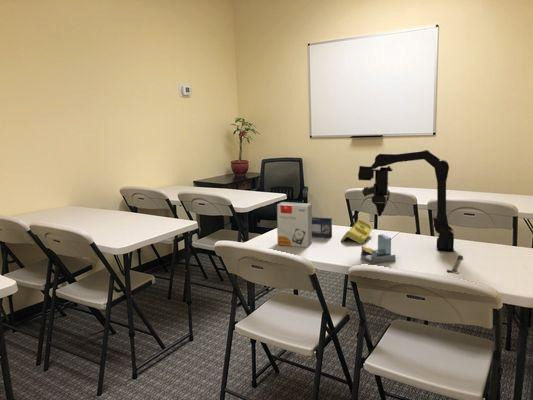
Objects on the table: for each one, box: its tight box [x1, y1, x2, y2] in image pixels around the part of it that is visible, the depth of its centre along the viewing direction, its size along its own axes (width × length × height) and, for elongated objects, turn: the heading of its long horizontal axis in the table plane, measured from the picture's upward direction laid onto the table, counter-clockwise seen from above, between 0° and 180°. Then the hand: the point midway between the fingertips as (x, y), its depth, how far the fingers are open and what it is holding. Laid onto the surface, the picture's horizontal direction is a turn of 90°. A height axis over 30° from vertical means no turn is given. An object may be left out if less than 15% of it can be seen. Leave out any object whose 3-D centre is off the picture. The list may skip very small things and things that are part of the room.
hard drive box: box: [276, 201, 313, 248], centre depth 196 cm, size 16×8×20 cm, turn 68°
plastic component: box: [340, 218, 373, 244], centre depth 206 cm, size 20×7×10 cm
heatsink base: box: [360, 245, 397, 265], centre depth 172 cm, size 11×9×5 cm
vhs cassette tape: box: [312, 216, 333, 239], centre depth 210 cm, size 18×3×10 cm, turn 70°
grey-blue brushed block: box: [374, 233, 392, 256], centre depth 172 cm, size 6×6×8 cm
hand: (380, 214), depth 191 cm, fingers open, 9 cm apart
